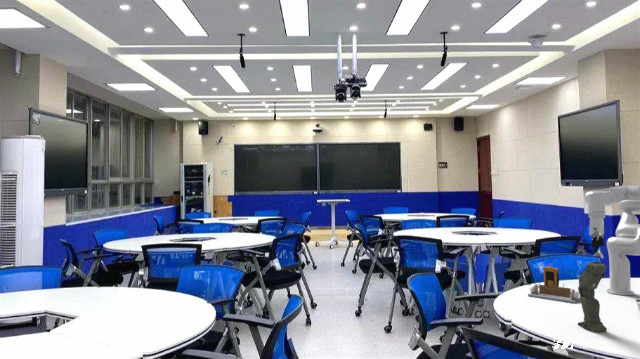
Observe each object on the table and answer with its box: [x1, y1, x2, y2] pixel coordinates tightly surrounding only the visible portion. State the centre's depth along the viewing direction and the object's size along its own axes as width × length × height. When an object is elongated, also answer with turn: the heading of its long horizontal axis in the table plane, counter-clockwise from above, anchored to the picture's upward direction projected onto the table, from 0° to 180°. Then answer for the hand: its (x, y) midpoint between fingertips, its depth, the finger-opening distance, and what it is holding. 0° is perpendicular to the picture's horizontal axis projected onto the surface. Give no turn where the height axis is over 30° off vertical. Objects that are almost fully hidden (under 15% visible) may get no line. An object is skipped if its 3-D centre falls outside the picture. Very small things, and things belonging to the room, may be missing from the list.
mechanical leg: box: [577, 260, 608, 333], centre depth 178 cm, size 14×7×30 cm, turn 5°
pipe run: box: [527, 283, 581, 304], centre depth 231 cm, size 12×23×6 cm, turn 45°
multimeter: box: [538, 255, 565, 289], centre depth 251 cm, size 15×10×20 cm
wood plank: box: [538, 284, 572, 298], centre depth 230 cm, size 15×2×5 cm, turn 47°
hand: (598, 246), depth 227 cm, fingers open, 9 cm apart
